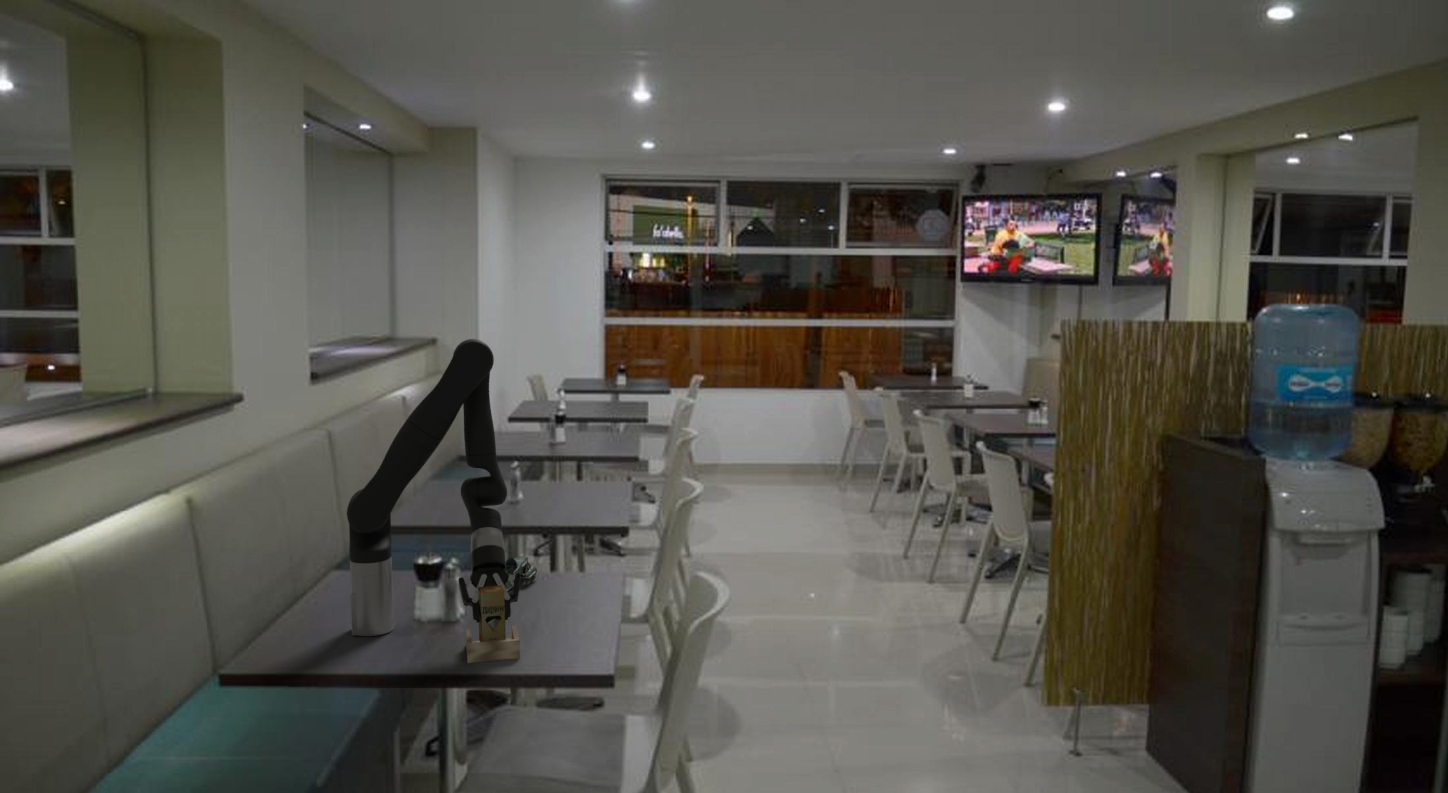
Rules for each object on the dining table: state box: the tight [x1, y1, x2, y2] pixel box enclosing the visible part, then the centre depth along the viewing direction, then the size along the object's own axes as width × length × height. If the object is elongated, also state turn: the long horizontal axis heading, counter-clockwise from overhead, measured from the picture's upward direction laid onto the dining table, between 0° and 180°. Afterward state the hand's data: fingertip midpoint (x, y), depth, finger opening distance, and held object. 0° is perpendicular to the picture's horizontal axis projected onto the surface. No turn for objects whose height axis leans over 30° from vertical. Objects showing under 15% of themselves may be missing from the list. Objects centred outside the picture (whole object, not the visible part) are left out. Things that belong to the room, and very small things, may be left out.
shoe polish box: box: [478, 585, 507, 642], centre depth 232 cm, size 5×5×12 cm
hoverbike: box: [504, 553, 538, 595], centre depth 280 cm, size 10×25×8 cm, turn 173°
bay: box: [465, 625, 521, 664], centre depth 233 cm, size 11×11×4 cm
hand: (492, 619), depth 231 cm, fingers closed on shoe polish box, 5 cm apart
